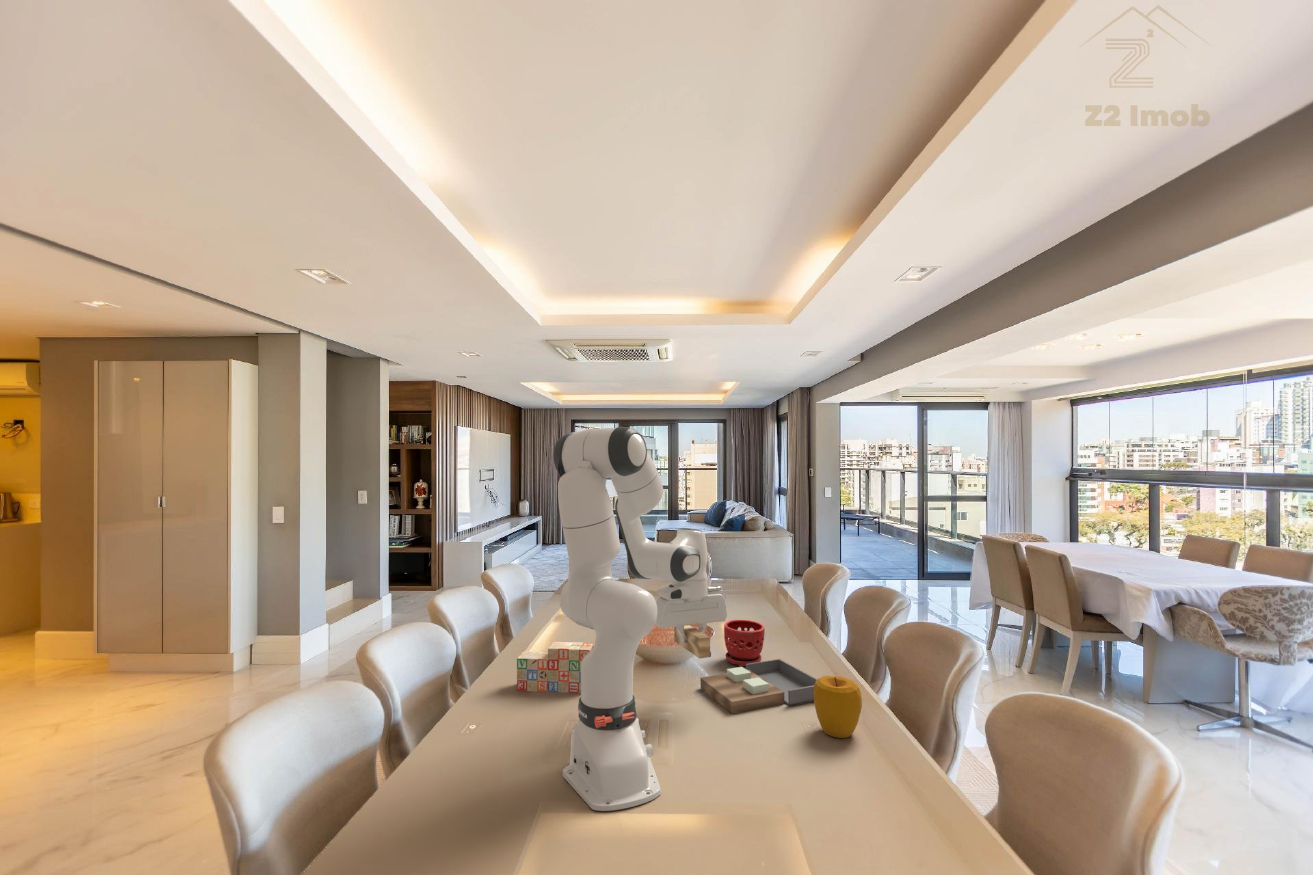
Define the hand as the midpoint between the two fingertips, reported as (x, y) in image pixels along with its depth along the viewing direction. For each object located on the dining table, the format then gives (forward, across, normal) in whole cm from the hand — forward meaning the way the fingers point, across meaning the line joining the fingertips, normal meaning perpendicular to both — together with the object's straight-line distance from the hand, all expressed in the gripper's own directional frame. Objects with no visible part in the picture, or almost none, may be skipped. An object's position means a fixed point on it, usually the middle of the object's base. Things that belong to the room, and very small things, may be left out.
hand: (691, 641), depth 148 cm
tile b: (+14, -17, -5) cm, 22 cm away
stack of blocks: (+17, +31, -26) cm, 44 cm away
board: (+16, -15, 0) cm, 22 cm away
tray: (+16, -30, 0) cm, 34 cm away
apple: (+17, -25, +28) cm, 41 cm away
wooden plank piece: (+2, 0, 0) cm, 2 cm away
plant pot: (+16, -30, -23) cm, 42 cm away
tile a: (+14, -17, +4) cm, 22 cm away
